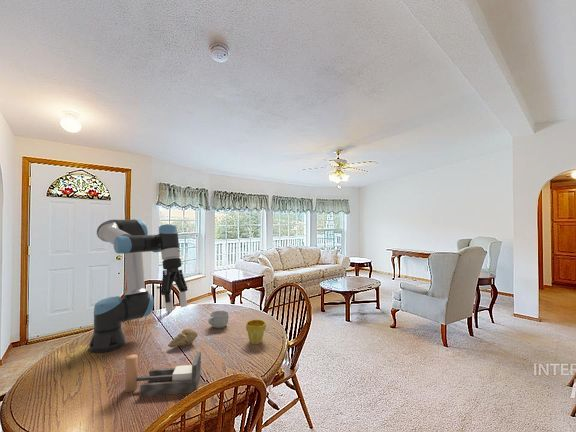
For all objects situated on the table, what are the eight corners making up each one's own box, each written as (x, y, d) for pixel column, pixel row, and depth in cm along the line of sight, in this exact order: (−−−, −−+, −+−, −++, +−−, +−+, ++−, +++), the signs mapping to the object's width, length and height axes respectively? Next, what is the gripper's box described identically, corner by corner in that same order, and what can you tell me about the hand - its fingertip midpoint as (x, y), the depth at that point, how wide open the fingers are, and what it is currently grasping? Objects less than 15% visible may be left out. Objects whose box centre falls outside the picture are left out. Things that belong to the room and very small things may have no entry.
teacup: (221, 321, 175) (221, 309, 175) (232, 326, 168) (232, 312, 168) (201, 328, 164) (202, 314, 164) (212, 333, 157) (213, 319, 157)
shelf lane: (140, 396, 101) (140, 368, 101) (150, 379, 112) (150, 354, 112) (195, 392, 104) (196, 365, 104) (200, 376, 114) (200, 351, 115)
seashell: (173, 354, 133) (173, 337, 133) (164, 348, 138) (165, 332, 138) (198, 344, 144) (198, 328, 144) (189, 339, 149) (190, 324, 149)
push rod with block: (122, 394, 102) (122, 361, 103) (128, 384, 108) (129, 353, 108) (191, 388, 106) (191, 357, 106) (194, 379, 112) (194, 349, 112)
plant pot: (260, 347, 141) (260, 327, 141) (242, 344, 144) (242, 325, 144) (268, 339, 151) (268, 320, 151) (251, 336, 154) (251, 318, 154)
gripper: (166, 255, 111) (172, 310, 106) (190, 258, 135) (196, 303, 131) (147, 259, 111) (153, 314, 106) (175, 261, 135) (181, 306, 131)
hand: (177, 308), depth 119 cm, fingers open, 13 cm apart
